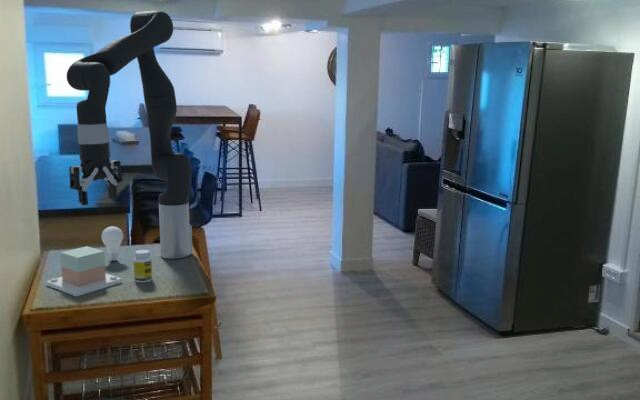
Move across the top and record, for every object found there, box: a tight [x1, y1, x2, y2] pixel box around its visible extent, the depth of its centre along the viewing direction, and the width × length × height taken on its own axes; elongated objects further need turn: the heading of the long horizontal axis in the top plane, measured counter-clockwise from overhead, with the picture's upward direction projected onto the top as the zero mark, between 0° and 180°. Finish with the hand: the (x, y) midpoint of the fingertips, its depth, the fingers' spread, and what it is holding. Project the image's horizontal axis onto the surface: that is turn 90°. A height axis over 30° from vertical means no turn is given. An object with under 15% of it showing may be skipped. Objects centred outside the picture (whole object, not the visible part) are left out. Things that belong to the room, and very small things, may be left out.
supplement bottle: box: [133, 249, 153, 284], centre depth 169 cm, size 5×5×8 cm
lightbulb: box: [101, 225, 124, 262], centre depth 186 cm, size 6×6×11 cm
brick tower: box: [45, 245, 123, 297], centre depth 165 cm, size 14×14×9 cm
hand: (98, 201), depth 160 cm, fingers open, 8 cm apart
